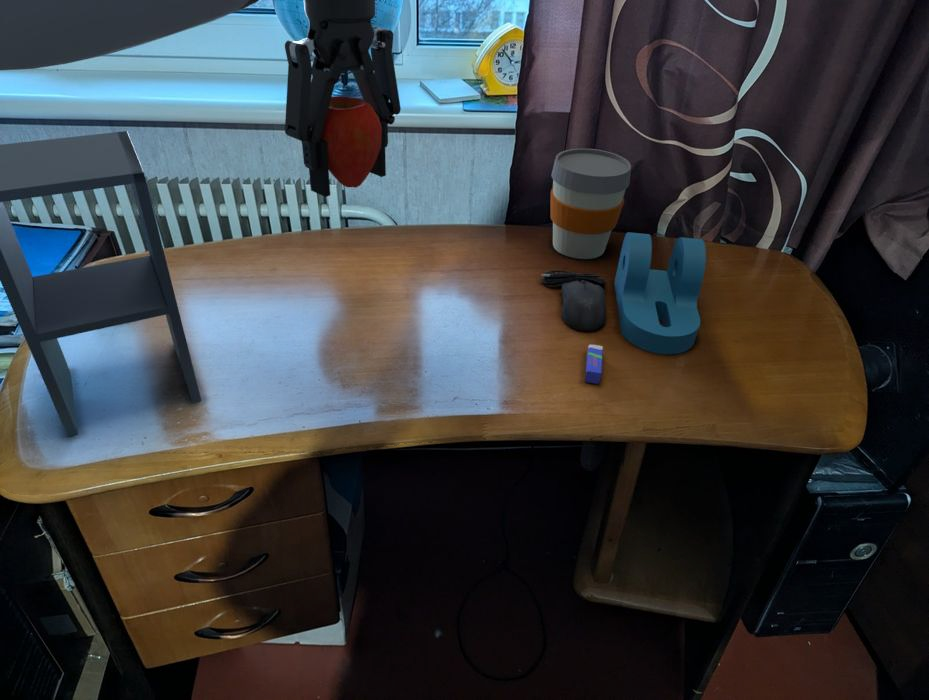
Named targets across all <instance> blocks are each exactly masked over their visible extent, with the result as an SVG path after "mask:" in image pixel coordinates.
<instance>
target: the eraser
mask: <svg viewBox="0 0 929 700" xmlns="http://www.w3.org/2000/svg"><path fill="white" fill-rule="evenodd" d="M603 353H604V347H603V346H602V345H598V344H593V343H592V344H591V343H590V344H588V346H587V354H586V362H585V363H586V364H585V377H584V381H585V382H586V383H590V384H596V385H598V384H600V382H601V378H602V373H603Z"/></svg>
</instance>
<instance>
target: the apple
mask: <svg viewBox="0 0 929 700" xmlns="http://www.w3.org/2000/svg"><path fill="white" fill-rule="evenodd" d="M381 135H382V127H381V124H380V120H379V117H378V116H377V114H376V112H375V111H374V109H373V108H372V106H371V105H370V104H369V103H367V102H366V101H364V100H363V98H358V97H351V96H332V97H331V100H330V104H329V108H328V112H327V115H326V119H325V123H324V127H323V130H322V134H321V138H320V139H321V140H324V141H326V142H327V155H328V169H329V173H330V174H331V175H332V177H334V178H335V180H337V182H338V183H339V184H341V185H342V186H343V187H346V188H355V189H356V188H358V187H360V186H361V185H362V184H363V183H364V182H365V180H366V179H367V178H368V176H369V174H370V171H371V169H372V168H373V166H374V164H375V161H376V159H377V157H378V154H379V152H380V149H381Z"/></svg>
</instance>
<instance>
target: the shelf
mask: <svg viewBox="0 0 929 700" xmlns="http://www.w3.org/2000/svg"><path fill="white" fill-rule="evenodd" d="M145 175H146V174H145V172H144V169H143V167H142V164H141V161H140V159H139V156H138V154H137V152H136V149H135V146H134V144H133V142H132V139H131V137H130V135H129V132H128V130H123V131H113V132H105V133H96V134H95V133H94V134H86V135H77V136H68V137H60V138H59V137H58V138H48V139H41V140H30V141H23V142H12V143H3V144H0V284H1V286H2V288H3V290H4V293H5V295H6V298H7V300H8V302H9V304H10V306H11V309H12V311H13V314H14V316H15V319H16V320H17V323H18V325H19V327H20V330H21V333H22V335H23V337H24V339H25V341H26V344H27V345H28V349H29V351H30V353H31V355H32V358H33V360H34V363H35V365H36V367H37V369H38V371H39V373H40V376H41V378H42V381H43V383H44V385H45V387H46V390H47V392H48V394H49V397H50V399H51V402H52V403H53V406H54V408H55V411H56V413H57V415H58V418H59V420H60V422H61V425H62V427H63V430H64V431H65V434H66V436H67V437H68V438H70V437H73V436H77V435H78V434H79V432H78V424H77V415H76V407H75V399H74V391H73V390H74V389H73V383H72V382H73V381H72V374H71V373H72V372H71V370H70V367H69V365H68V363H67V360H66V358H65V355H64V352H63V349H62V347H61V345H60V342H59V339H60V338H65V337H69V336H74V335H75V336H76V335H80V334H83V333H88V332H92V331H98V330H102V329H107V328H111V327H116V326H120V325H125V324H129V323H135V322H138V321H143V320H148V319H151V318H157V317H163V316H165V317H166V322H167V325H168V329H169V333H170V336H171V337H170V338H171V340H172V343H173V347H174V351H175V354H176V357H177V360H178V362H179V366H180V369H181V372H182V375H183V377H184V381H185V384H186V387H187V391H188V393H189V396H190V400H191V401H192V404H193V403H197V402H201V401H202V397H201V393H200V389H199V385H198V381H197V377H196V374H195V370H194V365H193V362H192V357H191V353H190V350H189V345H188V341H187V337H186V334H185V330H184V326H183V321H182V318H181V314H180V311H179V306H178V302H177V298H176V294H175V290H174V287H173V282H172V278H171V274H170V271H169V266H168V262H167V258H166V254H165V250H164V246H163V243H162V238H161V235H160V231H159V227H158V223H157V219H156V215H155V211H154V206H153V202H152V199H151V195H150V192H149V191H150V190H149V188H148V183H147V179H146V176H145ZM128 185H130V186H131V190H132V194H133V197H134V202H135V206H136V209H137V213H138V217H139V220H140V224H141V228H142V232H143V236H144V239H145V243H146V247H147V250H148V254H149V255H144V256H140V257H134V258H129V259H123V260H117V261H112V262H107V263H106V262H105V263H101V264H96V265H89V266H84V267H79V268H73V269H68V270H61V271H57V272H56V271H55V272H52V273H45V274H40V275H35V276H33V274H32V272H31V269H30V266H29V264H28V262H27V259H26V256H25V254H24V252H23V249H22V246H21V244H20V241H19V238H18V237H17V233H16V231H15V228H14V227H13V223H12V221H11V218H10V216H9V214H8V211H7V208H6V206H5V204H4V202H5V203H6V202H11V201H19V200H26V199H33V198H39V197H41V198H42V197H48V196H54V195H61V194H71V193H75V192H84V191H91V190H98V189H106V188H112V187H120V186H128Z"/></svg>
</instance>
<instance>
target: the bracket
mask: <svg viewBox="0 0 929 700" xmlns="http://www.w3.org/2000/svg"><path fill="white" fill-rule="evenodd" d="M652 249H653V243H652V236H651V234H649V233H639V232H631V231H629V232H626V234H625V235H624V238H623V241H622V245H621V249H620V255H619V259H618V264H617V268H616V273H615V278H614V281H613V282H614V293H615V299H616V300H615V301H616V307H617V316H618V324H619V331H620V333H621V335H622V336H623V337H624V338H625V339H626V340H627V341H628V342H629V343H630V344H632V345H633V346H635V347H637V348H639V349H641V350H644V351H646V352H649V353H653V354H658V355H677V354H681V353H685V352H687V351H688V350H690V349H691V348H692V347H693V346H694V345H695V341H696V338H697V336H698V332H699V329H700V326H701V317H700V314H699V311H698V299H699V296H700V292H701V288H702V286H703V281H704V276H705V271H706V261H707V251H706V250H707V249H706V244H705V242H704V239H701V238H691V237H681V236H680V237H678V238H677V239H676V240H675V242H674V244H673V246H672V250H671V254H670V257H669V260H668V265H667V269H666V270H659V269H651V262H652V252H653V251H652ZM660 321H661V323H660ZM661 324H662V325H661Z"/></svg>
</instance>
